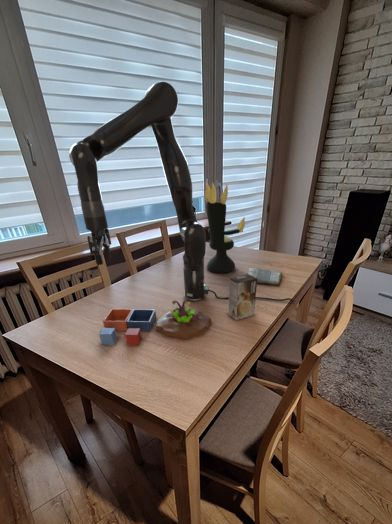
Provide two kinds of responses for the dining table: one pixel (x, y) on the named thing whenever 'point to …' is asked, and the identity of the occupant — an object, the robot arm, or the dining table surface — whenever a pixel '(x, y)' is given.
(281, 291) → the dining table surface
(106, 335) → the blue block
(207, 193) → the candelabra
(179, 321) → the plant
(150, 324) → the slate bin
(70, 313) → the dining table surface
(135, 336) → the brick block
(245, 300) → the coffee box
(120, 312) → the terracotta bin
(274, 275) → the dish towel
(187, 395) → the dining table surface
